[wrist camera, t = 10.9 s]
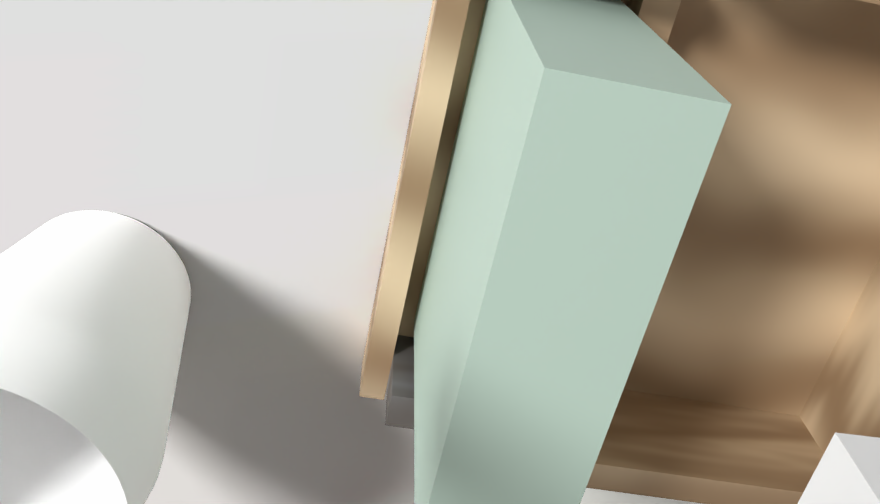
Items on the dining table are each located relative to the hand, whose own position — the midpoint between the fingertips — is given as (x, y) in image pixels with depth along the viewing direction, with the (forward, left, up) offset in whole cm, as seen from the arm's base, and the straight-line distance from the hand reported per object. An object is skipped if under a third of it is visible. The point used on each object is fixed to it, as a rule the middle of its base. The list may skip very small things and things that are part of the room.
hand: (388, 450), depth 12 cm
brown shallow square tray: (+3, +11, -20) cm, 23 cm away
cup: (+11, -10, -20) cm, 25 cm away
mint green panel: (+3, +4, -19) cm, 20 cm away
